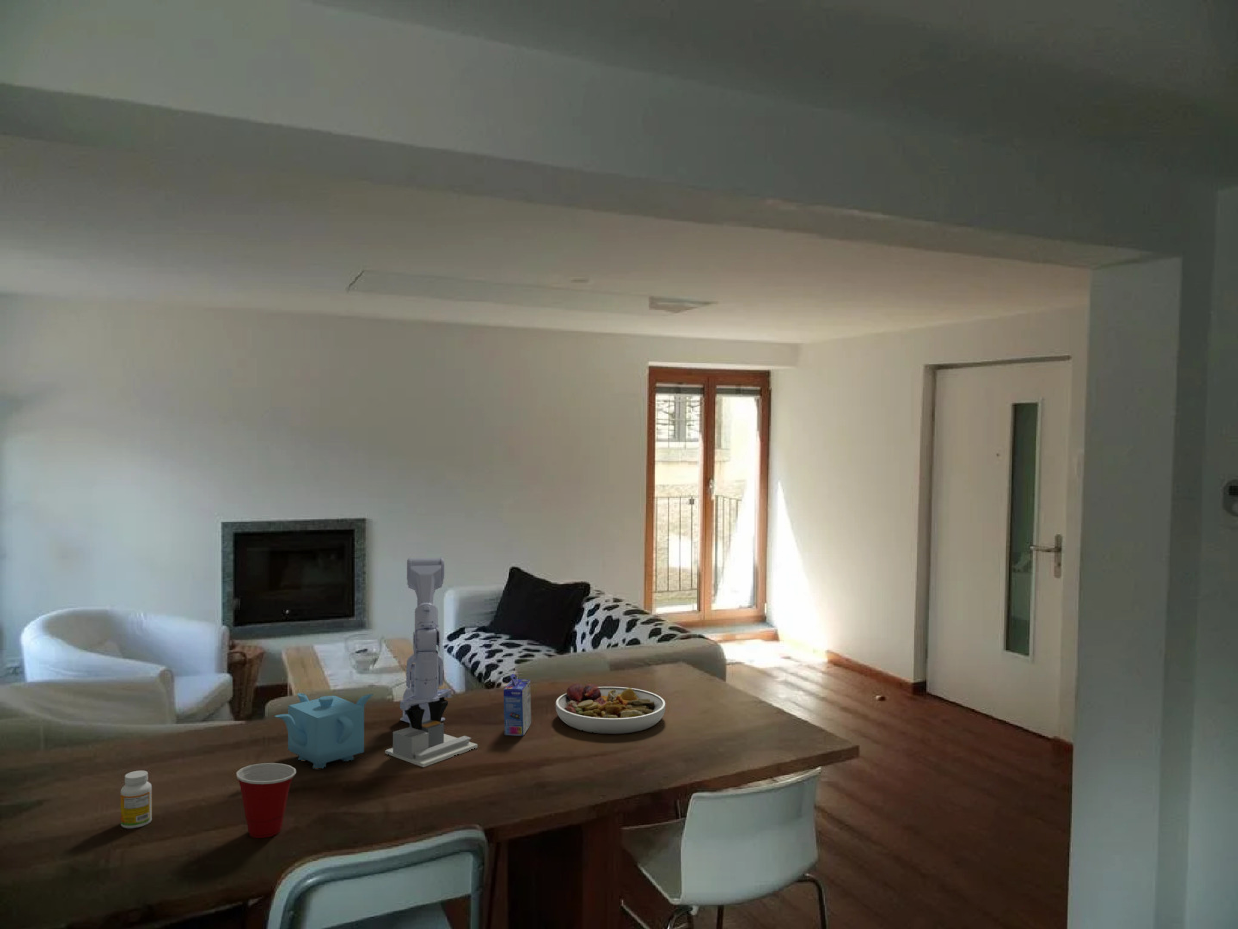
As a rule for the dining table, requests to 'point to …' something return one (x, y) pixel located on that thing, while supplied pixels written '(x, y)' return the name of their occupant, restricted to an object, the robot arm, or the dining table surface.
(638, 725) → the bowl
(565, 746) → the dining table surface
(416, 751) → the rail plate
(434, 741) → the block
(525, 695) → the ink cartridge box
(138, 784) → the supplement bottle
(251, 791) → the plastic cup
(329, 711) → the teakettle
